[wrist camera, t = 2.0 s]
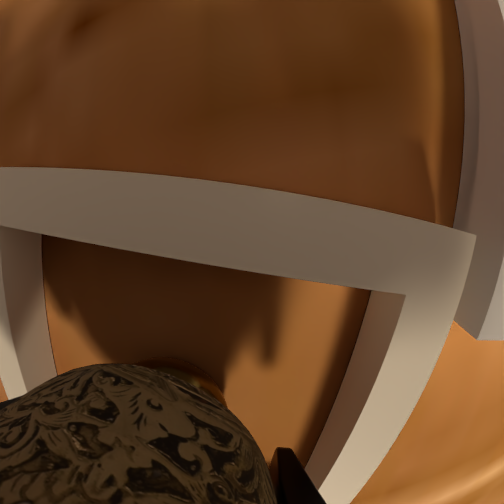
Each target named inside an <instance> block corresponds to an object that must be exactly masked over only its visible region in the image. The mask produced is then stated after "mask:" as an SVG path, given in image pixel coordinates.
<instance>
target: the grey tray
mask: <svg viewBox="0 0 504 504" xmlns="http://www.w3.org/2000/svg"><path fill="white" fill-rule="evenodd" d="M454 1H455V6H456V12H457V17H458V23H459V30H460V38H461V46H462V56H463V68H464V89H465V124H464V145H463V159H462V169H461V178H460V186H459V194H458V200H457V207H456V213H455V218H454V224H453V228H454V229H457V230H461V231H464V232H467V233H471V234H474V235H477V236H476V241H475V246H474V250H473V254H472V259H471V263H470V267H469V270H468V274H467V278H466V281H465V285H464V288H463V292H462V295H461V298H460V301H459V304H458V307H457V310H456V313H455V316H454V319H453V320H454V321H455V322H456V323H458V324H459V325H460V326H461V327H462V328H464V329H465V330H466V331H467V332H468V333H469V334H471V335H472V336H473V337H474V338H475V339H476V340H504V0H454Z"/></svg>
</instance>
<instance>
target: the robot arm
mask: <svg viewBox="0 0 504 504" xmlns="http://www.w3.org/2000/svg"><path fill="white" fill-rule="evenodd" d="M22 396H23V395H22ZM19 397H21V396H19ZM19 397H16V398H13V399H10V400H7V401H4V402H1V403H0V411H1V410H2V409H3V408H5V407H6V406H8V405H9V404H11V403H12V402H14V401H15V400H17V399H18V398H19ZM269 473H270V476H271V480H272V484H273V488H274V492H275V496H276V501H277V504H327V503H326V502H325V500H324V499H323V497H322V496H321V494H320V493H319V491H318V490H317V488H316V487H315V485H314V484H313V482H312V481H311V479H310V477H309V476H308V474H307V473H306V471H305V470H304V468H303V466H302V465H301V463H300V462H299V460H298V458H297V457H296V455H295V454H294V452H293V450H292V449H290V448H283V447H277V448H276V450H275V452H274V455H273V458H272V461H271V464H270V469H269Z"/></svg>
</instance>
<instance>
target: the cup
mask: <svg viewBox="0 0 504 504" xmlns="http://www.w3.org/2000/svg"><path fill="white" fill-rule="evenodd" d="M0 504H277V501H276V496H275V492H274V488H273V484H272V480H271V476H270V473H269V470H268V467H267V464H266V462H265V459H264V456H263V454H262V452H261V450H260V448H259V447H258V445H257V443H256V441H255V440H254V438H253V437H252V435H251V434H250V432H249V431H248V430H247V428H246V427H245V426H244V425H243V424H242V423H241V421H240V420H239V419H238V418H237V417H236V416H235V415H234V414H233V413H232V412H231V411H230V410H229V409H228V407H227V404H226V401H225V399H224V397H223V394H222V392H221V391H220V389H219V387H218V386H217V384H216V383H215V382H214V381H213V380H212V379H211V377H209V376H208V375H207V374H206V373H205V372H203V371H202V370H201V369H199V368H197V367H196V366H194V365H192V364H190V363H188V362H185V361H182V360H179V359H175V358H169V357H153V358H148V359H144V360H141V361H138V362H136V363H134V364H132V365H130V364H95V365H90V366H85V367H80V368H76V369H72V370H70V371H68V372H65V373H63V374H61V375H58V376H56V377H54V378H52V379H50V380H48V381H46V382H44V383H42V384H41V385H39V386H37V387H35V388H34V389H32V390H30V391H29V392H27V393H26V394H24V395H23V396H21V397H19V398H18V399H17V400H15V401H14V402H12V403H11V404H9V405H8V406H6V407H5V408H3V409H2V410H1V411H0Z"/></svg>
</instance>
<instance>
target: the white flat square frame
mask: <svg viewBox="0 0 504 504" xmlns="http://www.w3.org/2000/svg"><path fill="white" fill-rule="evenodd" d="M41 234H45V235H50V236H55V237H60V238H65V239H70V240H75V241H80V242H86V243H91V244H96V245H101V246H107V247H112V248H117V249H123V250H128V251H134V252H139V253H145V254H150V255H156V256H161V257H167V258H173V259H179V260H184V261H190V262H196V263H202V264H208V265H213V266H219V267H225V268H231V269H238V270H244V271H250V272H256V273H262V274H268V275H275V276H281V277H287V278H294V279H300V280H307V281H313V282H320V283H327V284H333V285H340V286H347V287H354V288H361V289H368V290H372V291H371V294H370V298H369V302H368V305H367V309H366V312H365V316H364V319H363V322H362V326H361V329H360V332H359V335H358V338H357V342H356V345H355V348H354V351H353V354H352V357H351V359H350V362H349V365H348V368H347V371H346V374H345V376H344V379H343V382H342V384H341V387H340V390H339V392H338V395H337V397H336V400H335V402H334V405H333V407H332V410H331V412H330V415H329V417H328V419H327V422H326V424H325V426H324V429H323V431H322V433H321V435H320V438H319V440H318V442H317V444H316V446H315V448H314V451H313V453H312V455H311V457H310V459H309V461H308V463H307V465H306V467H305V469H304V470H305V471H306V473H307V474H308V476H309V477H310V479H311V481H312V482H313V484H314V485H315V487H316V488H317V490H318V491H319V493H320V494H321V496H322V497H323V499H324V500H325V502H326V503H327V504H349V503H350V502H351V501H352V500H353V499H354V497H355V496H356V495H357V494H358V492H359V491H360V490H361V489H362V487H363V486H364V485H365V483H366V482H367V481H368V479H369V478H370V477H371V475H372V474H373V473H374V471H375V470H376V468H377V467H378V466H379V464H380V463H381V461H382V460H383V458H384V457H385V455H386V454H387V452H388V451H389V449H390V448H391V446H392V445H393V443H394V441H395V440H396V438H397V437H398V435H399V433H400V432H401V430H402V428H403V427H404V425H405V423H406V421H407V420H408V418H409V416H410V414H411V413H412V411H413V409H414V407H415V405H416V403H417V401H418V400H419V398H420V396H421V394H422V392H423V390H424V388H425V386H426V384H427V382H428V379H429V377H430V375H431V373H432V371H433V369H434V367H435V364H436V362H437V360H438V357H439V355H440V353H441V350H442V348H443V345H444V343H445V340H446V338H447V335H448V333H449V330H450V327H451V325H452V322H453V319H454V316H455V313H456V310H457V307H458V304H459V301H460V298H461V295H462V292H463V288H464V285H465V281H466V278H467V274H468V270H469V267H470V263H471V259H472V254H473V250H474V246H475V241H476V236H477V235H474V234H471V233H467V232H464V231H461V230H457V229H454V228H450V227H447V226H443V225H439V224H436V223H432V222H428V221H424V220H420V219H416V218H412V217H408V216H403V215H399V214H395V213H391V212H386V211H382V210H377V209H373V208H368V207H363V206H359V205H354V204H349V203H344V202H339V201H334V200H329V199H324V198H318V197H313V196H307V195H302V194H296V193H290V192H284V191H278V190H272V189H266V188H260V187H253V186H246V185H239V184H232V183H225V182H218V181H210V180H202V179H193V178H185V177H176V176H166V175H156V174H146V173H134V172H122V171H108V170H92V169H73V168H45V167H0V377H1V380H2V383H3V386H4V389H5V391H6V394H7V397H8V399H9V400H10V399H13V398H16V397H19V396H22V395H24V394H26V393H27V392H29V391H30V390H32V389H34V388H35V387H37V386H39V385H41V384H42V383H44V382H46V381H48V380H50V379H52V378H54V377H56V376H57V373H56V368H55V364H54V359H53V354H52V348H51V343H50V337H49V330H48V323H47V316H46V308H45V299H44V288H43V274H42V249H41Z"/></svg>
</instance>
